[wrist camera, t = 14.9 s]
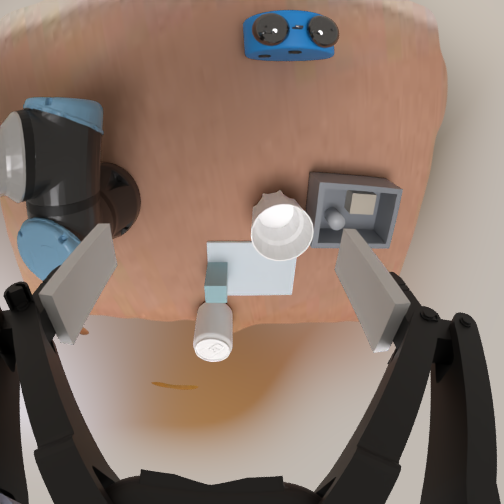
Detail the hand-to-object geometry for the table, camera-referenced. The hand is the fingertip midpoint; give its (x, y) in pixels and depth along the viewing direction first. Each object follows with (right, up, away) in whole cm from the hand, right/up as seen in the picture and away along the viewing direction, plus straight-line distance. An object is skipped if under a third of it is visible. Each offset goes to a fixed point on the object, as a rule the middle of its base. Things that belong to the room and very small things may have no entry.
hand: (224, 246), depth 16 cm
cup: (+6, +8, +39) cm, 40 cm away
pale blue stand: (+1, -4, +45) cm, 45 cm away
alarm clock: (+6, +34, +23) cm, 42 cm away
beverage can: (-7, -14, +50) cm, 53 cm away
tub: (+20, +9, +38) cm, 44 cm away
